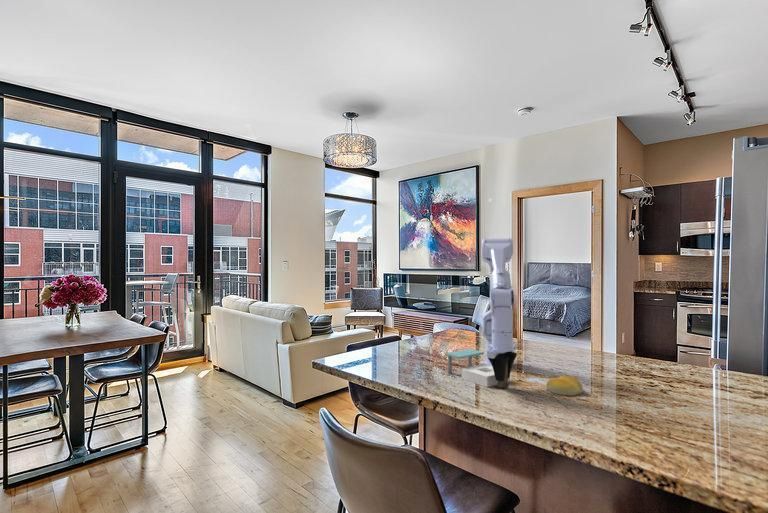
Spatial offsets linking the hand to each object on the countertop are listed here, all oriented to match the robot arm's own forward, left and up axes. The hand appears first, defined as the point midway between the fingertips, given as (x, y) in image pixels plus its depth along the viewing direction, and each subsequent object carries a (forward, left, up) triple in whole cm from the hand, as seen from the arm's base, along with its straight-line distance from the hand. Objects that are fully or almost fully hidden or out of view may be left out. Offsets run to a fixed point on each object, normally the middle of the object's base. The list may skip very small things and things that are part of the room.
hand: (502, 379), depth 111 cm
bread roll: (-12, +11, -3) cm, 17 cm away
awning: (-2, -17, -3) cm, 17 cm away
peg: (0, 0, -2) cm, 2 cm away
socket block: (-2, -8, -3) cm, 9 cm away
